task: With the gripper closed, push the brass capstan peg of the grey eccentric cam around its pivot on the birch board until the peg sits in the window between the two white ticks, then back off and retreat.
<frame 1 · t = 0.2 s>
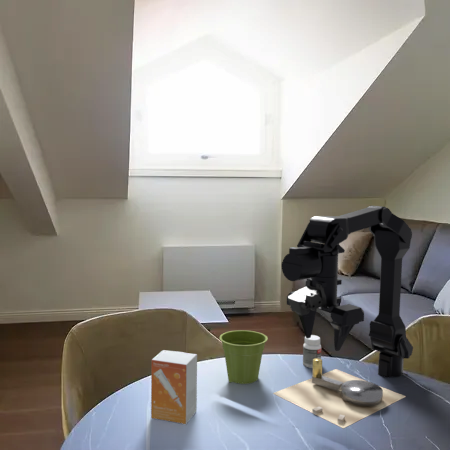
hand: (322, 344, 111), 14 cm above the table, tool pointing down, fingers open, 9 cm apart
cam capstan: (345, 380, 116), point 4 cm above the table, hinge at 0.0°
plant pot: (242, 381, 125), on the table
stand board: (338, 398, 115), on the table
pill bottle: (311, 368, 133), on the table
small box: (174, 416, 107), on the table
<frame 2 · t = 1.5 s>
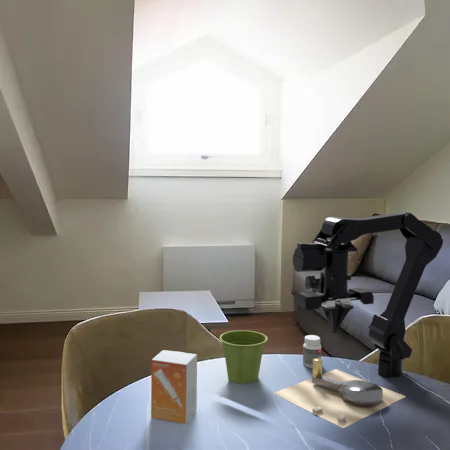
hand: (333, 332, 122), 13 cm above the table, tool pointing down, fingers closed
nothing on the table moved.
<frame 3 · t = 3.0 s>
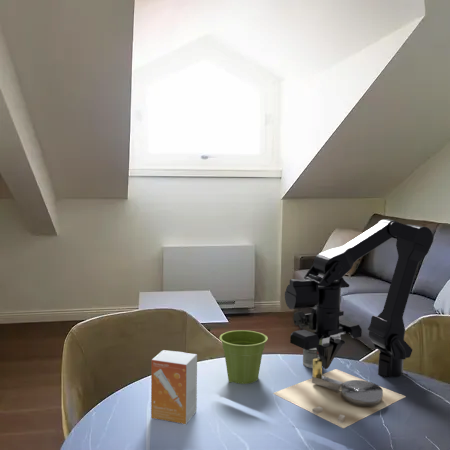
hand: (325, 368, 122), 4 cm above the table, tool pointing down, fingers closed
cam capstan: (345, 380, 116), point 4 cm above the table, hinge at 0.0°, touching gripper
everything else where it was.
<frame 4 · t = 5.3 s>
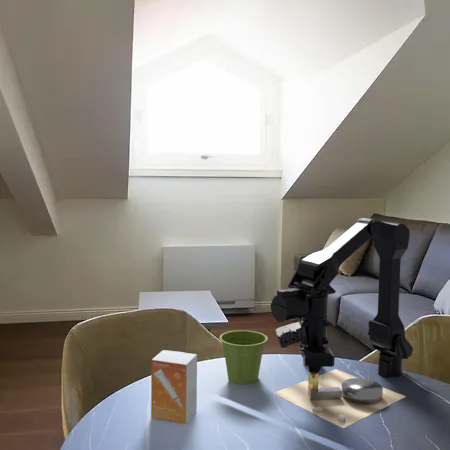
hand: (312, 379, 115), 4 cm above the table, tool pointing down, fingers closed
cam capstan: (345, 383, 114), point 4 cm above the table, hinge at 47.9°, touching gripper
everything else where it was.
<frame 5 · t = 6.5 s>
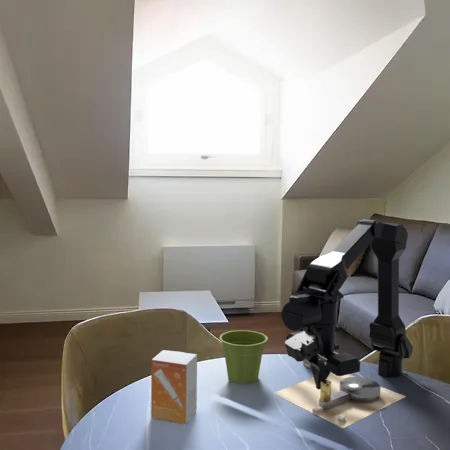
hand: (318, 388, 110), 5 cm above the table, tool pointing down, fingers closed
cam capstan: (348, 385, 112), point 4 cm above the table, hinge at 76.9°, touching gripper
everything else where it was.
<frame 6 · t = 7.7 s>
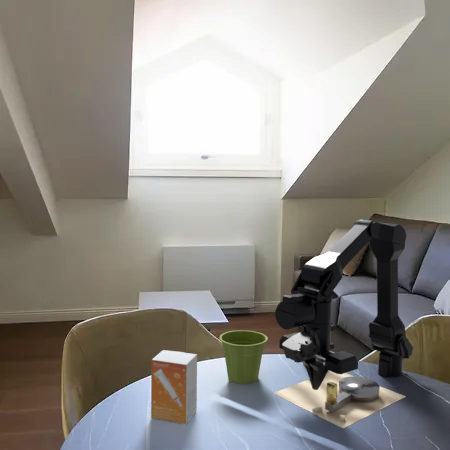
hand: (315, 389, 111), 4 cm above the table, tool pointing down, fingers closed
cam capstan: (349, 386, 112), point 4 cm above the table, hinge at 86.1°
everything else where it was.
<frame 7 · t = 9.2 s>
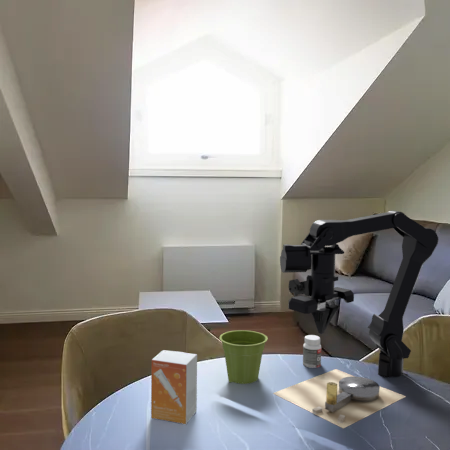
hand: (321, 333, 125), 12 cm above the table, tool pointing down, fingers closed
nothing on the table moved.
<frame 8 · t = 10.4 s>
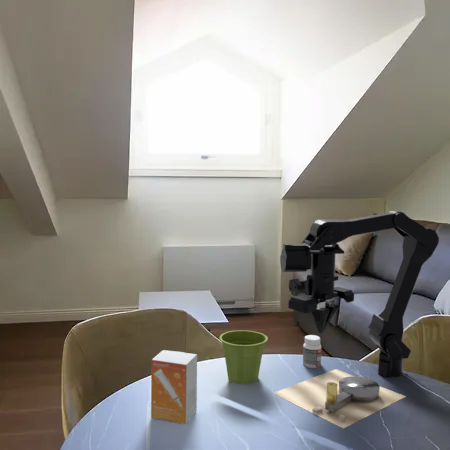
hand: (320, 332, 125), 12 cm above the table, tool pointing down, fingers closed
nothing on the table moved.
at the end: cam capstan at +86° (first picture: +0°) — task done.
